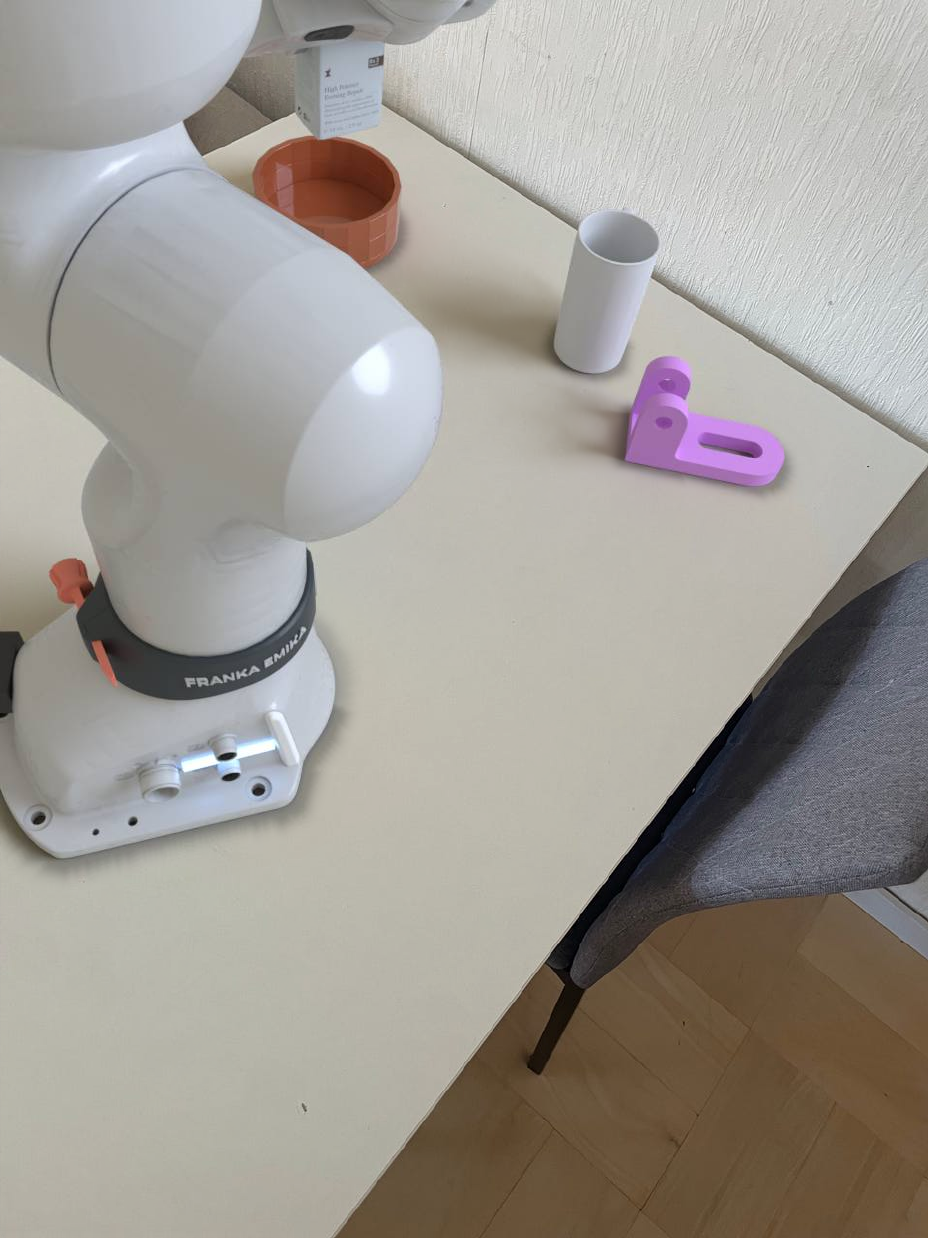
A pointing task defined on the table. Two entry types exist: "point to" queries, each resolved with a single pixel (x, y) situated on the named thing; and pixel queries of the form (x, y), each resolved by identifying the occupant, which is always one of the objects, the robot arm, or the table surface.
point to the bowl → (334, 193)
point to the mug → (604, 288)
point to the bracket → (694, 432)
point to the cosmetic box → (339, 87)
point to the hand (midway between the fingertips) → (335, 35)
